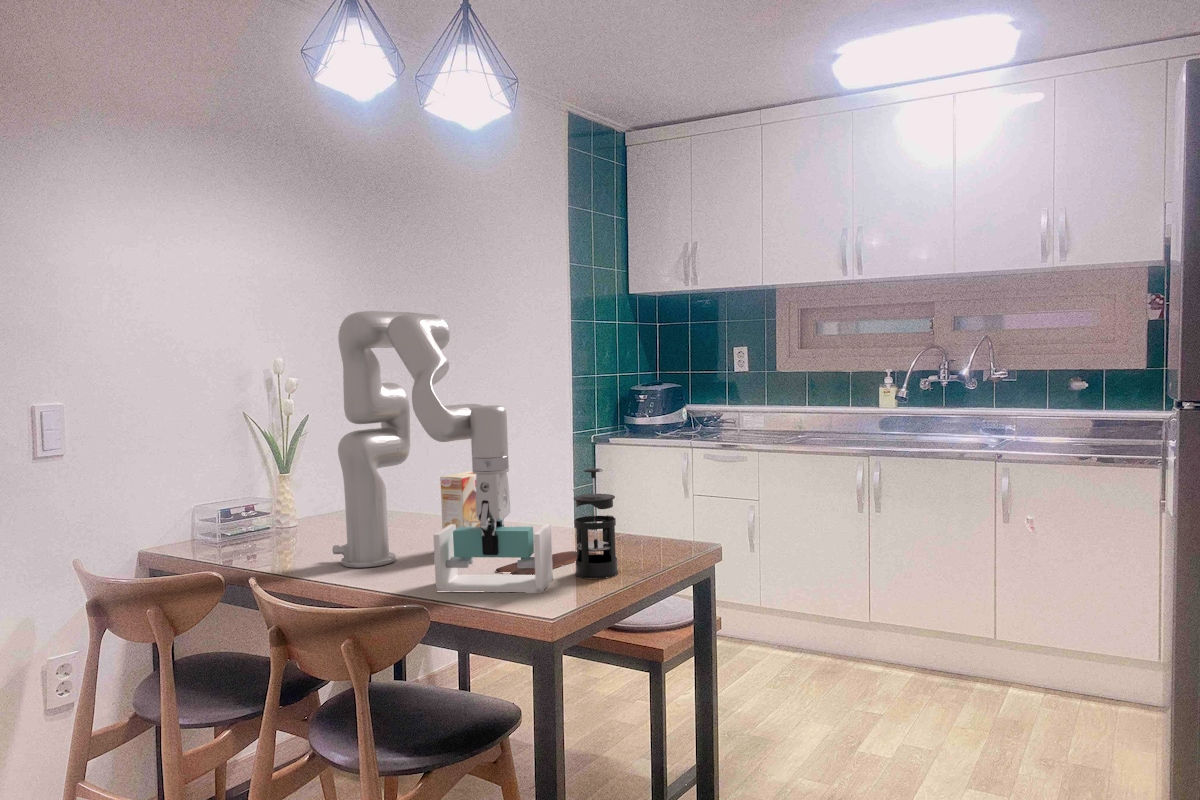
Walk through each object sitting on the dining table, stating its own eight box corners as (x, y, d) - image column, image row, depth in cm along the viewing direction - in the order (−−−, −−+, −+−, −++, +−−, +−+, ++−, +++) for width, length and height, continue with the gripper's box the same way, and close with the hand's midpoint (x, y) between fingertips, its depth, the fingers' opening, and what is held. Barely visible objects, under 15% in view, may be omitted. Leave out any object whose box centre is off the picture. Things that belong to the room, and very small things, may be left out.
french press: (602, 582, 189) (598, 472, 188) (565, 577, 194) (561, 471, 193) (630, 569, 199) (626, 465, 198) (594, 565, 204) (590, 464, 203)
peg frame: (436, 592, 185) (433, 534, 184) (452, 579, 196) (450, 524, 195) (541, 593, 182) (539, 534, 181) (553, 579, 192) (550, 523, 192)
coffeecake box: (465, 558, 215) (462, 477, 214) (442, 556, 219) (438, 476, 218) (501, 546, 228) (498, 469, 227) (479, 544, 232) (476, 468, 231)
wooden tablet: (571, 545, 221) (602, 545, 215) (572, 555, 221) (603, 555, 215) (491, 568, 201) (522, 569, 195) (492, 578, 201) (523, 579, 195)
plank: (534, 552, 189) (533, 526, 189) (529, 557, 185) (528, 531, 185) (460, 552, 192) (459, 526, 192) (454, 557, 187) (452, 531, 187)
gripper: (497, 470, 179) (500, 561, 179) (517, 459, 195) (521, 543, 196) (460, 470, 180) (464, 561, 181) (484, 460, 196) (487, 543, 197)
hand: (494, 550), depth 188 cm, fingers closed on plank, 4 cm apart
